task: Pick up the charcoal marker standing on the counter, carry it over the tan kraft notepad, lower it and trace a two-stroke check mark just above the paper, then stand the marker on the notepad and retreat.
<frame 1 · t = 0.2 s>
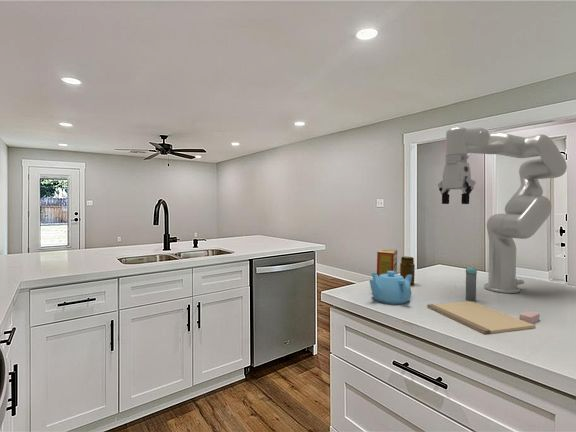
hand: (455, 204, 128), 36 cm above the worktop, tool pointing down, fingers open, 9 cm apart
condiment: (407, 284, 146), on the worktop
teapot: (390, 299, 124), on the worktop
notepad: (476, 316, 104), on the worktop
marker: (470, 300, 122), on the worktop
baking soda box: (386, 287, 141), on the worktop
eraser: (529, 321, 101), on the worktop
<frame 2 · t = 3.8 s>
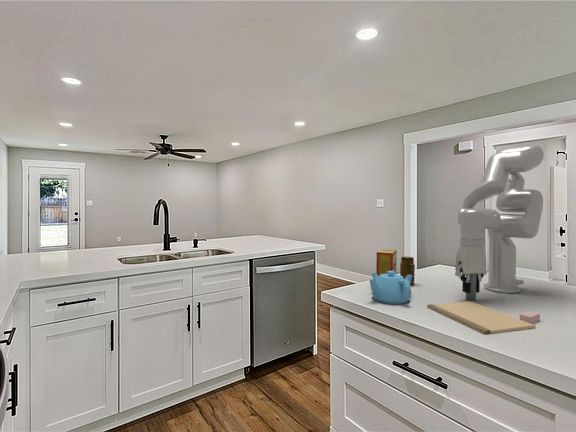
hand: (470, 291, 122), 3 cm above the worktop, tool pointing down, fingers closed on marker, 3 cm apart
marker: (470, 300, 122), on the worktop, touching gripper
everything else where it was.
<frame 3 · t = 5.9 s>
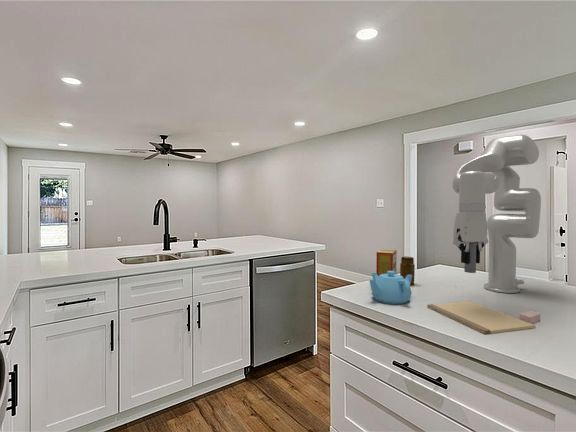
hand: (470, 262, 110), 16 cm above the worktop, tool pointing down, fingers closed on marker, 3 cm apart
marker: (470, 271, 110), point 13 cm above the worktop, touching gripper
everything else where it was.
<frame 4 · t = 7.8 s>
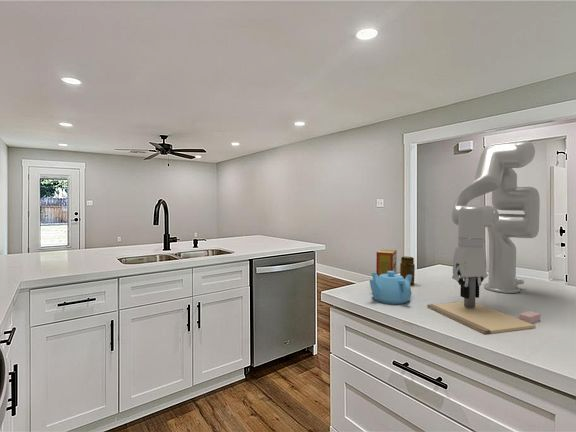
hand: (469, 296, 110), 5 cm above the worktop, tool pointing down, fingers closed on marker, 3 cm apart
marker: (469, 306, 111), point 1 cm above the worktop, touching gripper
everything else where it was.
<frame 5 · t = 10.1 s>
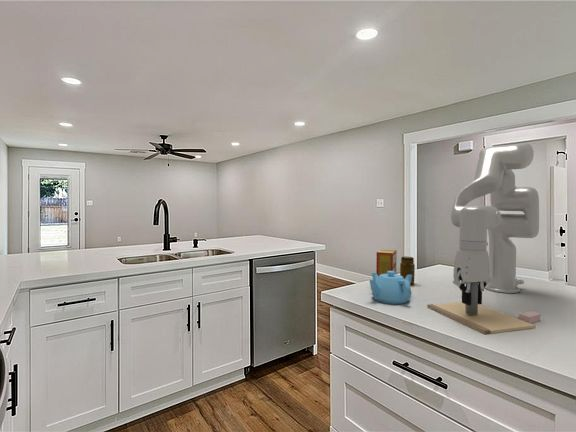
hand: (471, 303, 104), 5 cm above the worktop, tool pointing down, fingers closed on marker, 3 cm apart
marker: (471, 313, 104), point 1 cm above the worktop, touching gripper
everything else where it was.
when the fingers open (5 cm above the worktop, at t = 12.0 s): marker stays where it is, resting on notepad.
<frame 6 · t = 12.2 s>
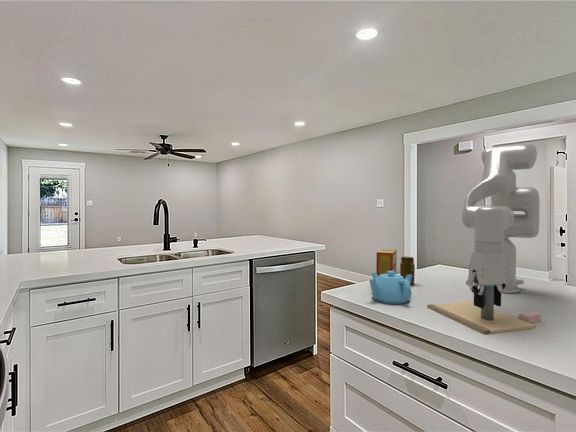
hand: (487, 305, 100), 5 cm above the worktop, tool pointing down, fingers open, 5 cm apart
marker: (487, 318, 100), point 1 cm above the worktop, touching notepad
everything else where it was.
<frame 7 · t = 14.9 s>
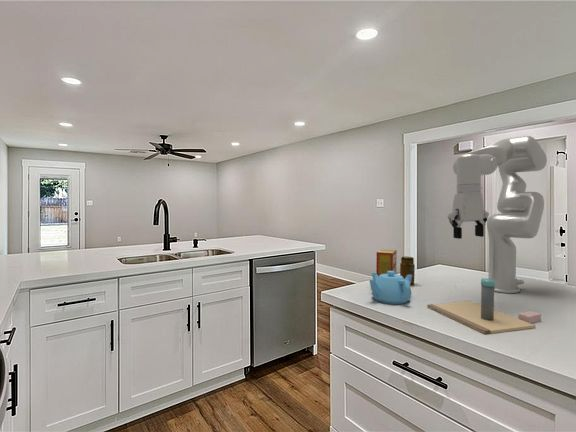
hand: (468, 237, 117), 24 cm above the worktop, tool pointing down, fingers open, 9 cm apart
nothing on the worktop moved.
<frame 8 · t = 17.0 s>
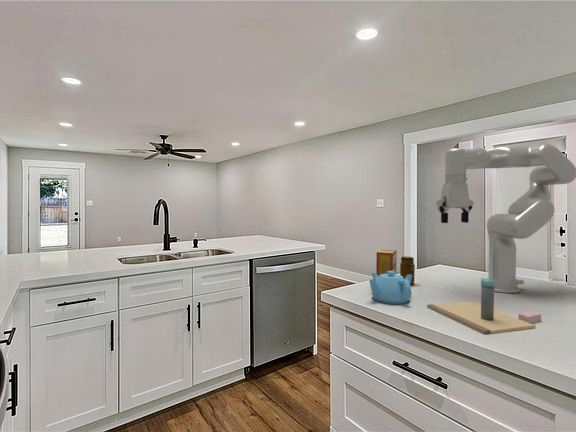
hand: (454, 222, 132), 28 cm above the worktop, tool pointing down, fingers open, 9 cm apart
nothing on the worktop moved.
at the end: marker inside the target area on the notepad (4.0 cm from its centre), point 0.8 cm above the notepad's base; marker tilted 0°; the gripper is holding nothing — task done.
